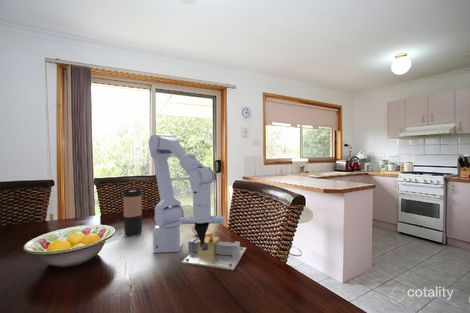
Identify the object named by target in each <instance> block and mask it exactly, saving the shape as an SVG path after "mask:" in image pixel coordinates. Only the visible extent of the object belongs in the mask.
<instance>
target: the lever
mask: <svg viewBox="0 0 470 313" xmlns="http://www.w3.org/2000/svg"><path fill="white" fill-rule="evenodd" d="M213 237H214V232H211V231H206V234H205V238H204V239H205V241H204V243H202V250H203V251H207V250H208V245H209V242H210V240H212V239H213Z"/></svg>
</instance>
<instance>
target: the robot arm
mask: <svg viewBox="0 0 470 313" xmlns="http://www.w3.org/2000/svg"><path fill="white" fill-rule="evenodd" d="M148 149H149V154H150V157H152V159H153V166H154V170H155V177H156V183H157V189H158V193H159V200H160V201H159V202H158V203H157V204H156V205H155V207H154V221H155V224H156V225H155V226H154V229H153V236H152V238H153V242H152V243H153V251H152V252H153V254H156V253H158V254H159V253H179V252H180V250H181V248H182V246H183V242H181V230H180V229H181V227H180V225H181V226H182V225H192V224H195V227H194V228H195V230H196V232H197V234H198V235H197V236H198V239H199V240H200V246H201V247H202V243H204V238H205V234H206V232H208V230H207V228H208V229H209V225H211V224H212V225H213V224H214V225H215V224H218V225H224V224H225V216H217V215H216V216H215V215H212V214H211V213H212V212H211V211H212V203H211V202H212V200H211V199H212V198H211V194H212V193H211V184H212V183H213V181H214V179H215V173H214V171H213V169H212V168H211V167H210V166H206V165H203V163H202V162H200V161H199V160H198V159H197V158H196V155H195V154H193V153H188V152H187V151H186V150H185V148H184V147H183V146H182V144H180V138H179V137H178V136H177V135H176V134H165V133H164V134H163V133H162V134H160V133H155V132H154V133H152V134H151V135H150V136H149V139H148ZM173 155H174V156H175V158H177V159H178V160H179V166H180V167H181V168H182V170H184V171H185V173H186V174H187V176H188V181H189V184H190V189H191V191H192V214H193V215H191V216H185V211H184V208H183V207H182V202H181V201H180V200H178V199H176V198H175V194H174V189H173V184H172V183H173V182H172V179H171V178H172V177H171V172H170V167H169V163H168V159H169V158H171V157H172V156H173Z"/></svg>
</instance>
